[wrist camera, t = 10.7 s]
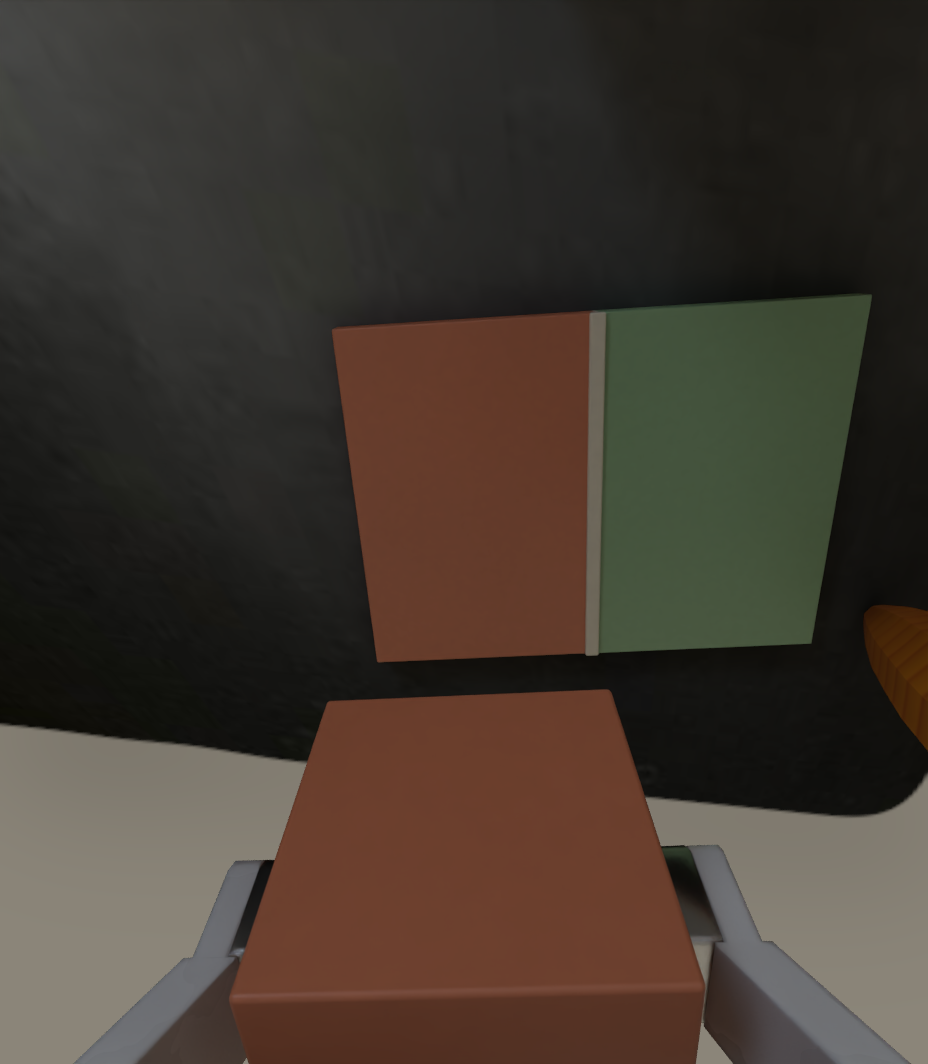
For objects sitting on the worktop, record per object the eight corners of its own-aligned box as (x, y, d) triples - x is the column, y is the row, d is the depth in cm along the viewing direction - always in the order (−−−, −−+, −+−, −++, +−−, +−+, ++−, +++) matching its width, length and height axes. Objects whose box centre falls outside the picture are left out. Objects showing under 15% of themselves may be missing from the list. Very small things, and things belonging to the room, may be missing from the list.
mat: (857, 293, 24) (876, 294, 23) (801, 632, 30) (813, 646, 29) (336, 327, 25) (329, 330, 24) (380, 651, 31) (376, 665, 30)
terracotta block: (610, 687, 11) (708, 988, 6) (603, 889, 13) (676, 1232, 8) (326, 699, 11) (224, 1001, 7) (361, 896, 13) (301, 1237, 9)
